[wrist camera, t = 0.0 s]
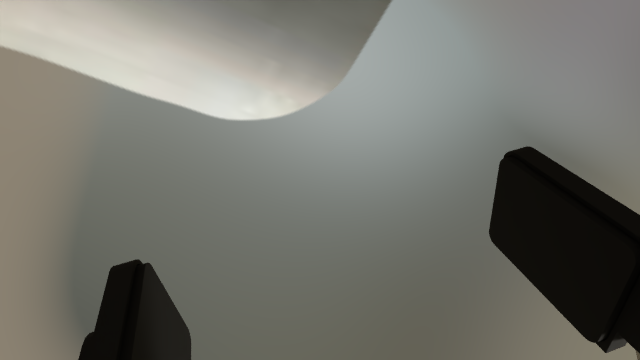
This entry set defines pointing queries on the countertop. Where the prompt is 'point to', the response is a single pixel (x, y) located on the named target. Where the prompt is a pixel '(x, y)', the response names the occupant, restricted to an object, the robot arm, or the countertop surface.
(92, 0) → the countertop surface
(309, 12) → the countertop surface
